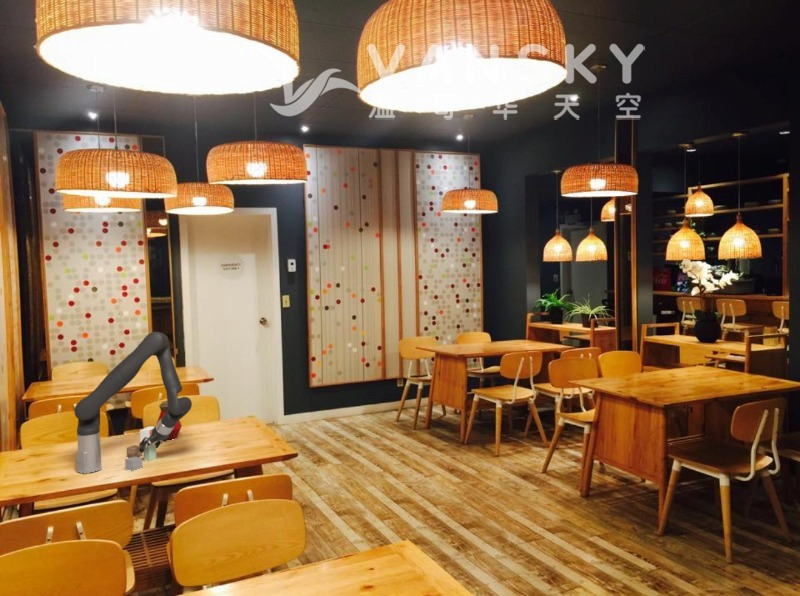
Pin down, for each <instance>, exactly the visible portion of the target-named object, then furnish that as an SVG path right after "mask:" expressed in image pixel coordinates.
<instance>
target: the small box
mask: <svg viewBox="0 0 800 596" xmlns="http://www.w3.org/2000/svg"><path fill="white" fill-rule="evenodd" d="M155 426H156V425H154V426H152V425H151V426H150V425H148V426H146V427H144V428H142V429H139V442H140V443H141V441H142V440H143V439H144V438H145V437H147V438H149V437H150V436H151V435H152V430H153V428H154V427H155ZM140 443H139V444H140ZM149 443H150V444H151V442H150V440H149ZM154 444H155V443H154ZM154 444H153V445H154Z"/></svg>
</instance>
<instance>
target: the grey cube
mask: <svg viewBox="0 0 800 596" xmlns="http://www.w3.org/2000/svg"><path fill="white" fill-rule="evenodd" d="M124 463H125V464H124V465H125V466H124V467H125V470H126V469H127V470H131V471H130V472H132V471H134V470H137V469H140V468H142V469H143V457H132V458H125V459H124ZM127 470H126V471H127ZM140 470H141V469H140ZM137 471H138V470H137ZM134 472H135V471H134Z"/></svg>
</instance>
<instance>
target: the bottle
mask: <svg viewBox="0 0 800 596" xmlns="http://www.w3.org/2000/svg"><path fill="white" fill-rule="evenodd" d="M158 407H159V410H160V413H159V416H158V419H157V422H156V424H157V423H158V421H159V420H160V419H161V418H162V417H163V416H164V414H165V413H166V412H167V411H168V410H169V409H168V405H167V400H165V401H162V402H161V403H160V404H159V406H158ZM181 428H182V423H181V421H180V420H179V421H178V422H177V424H176V425H175V426H174V428H173V430H172V431H171V433H170V434H171V435H170V436H169V438H168V439H167V440H171V441H173V440H172V439H174V440H176V439H177V438H178V436H179V432H181ZM175 438H176V439H175Z"/></svg>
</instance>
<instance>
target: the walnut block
mask: <svg viewBox="0 0 800 596" xmlns="http://www.w3.org/2000/svg"><path fill="white" fill-rule="evenodd" d="M140 448H141V447H140V446H139V444H138V445H137V444H133V445H131V446H127V447H126V458H127V457H128V458H127V459H129V458H132V457H139V458H141V457H140V456H142V457H144V454H143V453H141V452H140V451H139V449H140Z"/></svg>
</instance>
